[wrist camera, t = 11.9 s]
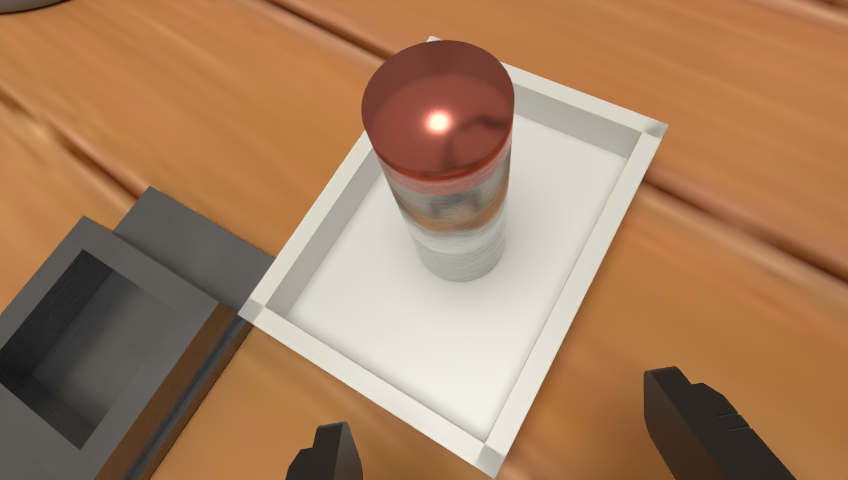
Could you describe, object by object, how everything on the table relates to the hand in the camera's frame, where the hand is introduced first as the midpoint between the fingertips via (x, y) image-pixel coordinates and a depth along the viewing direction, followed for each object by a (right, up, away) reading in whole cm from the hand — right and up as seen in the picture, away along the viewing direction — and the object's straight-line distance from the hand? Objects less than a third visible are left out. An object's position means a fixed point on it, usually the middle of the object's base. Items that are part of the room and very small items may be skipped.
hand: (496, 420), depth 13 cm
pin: (0, +5, +9) cm, 10 cm away
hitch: (-16, 0, +10) cm, 18 cm away
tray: (0, +5, +10) cm, 11 cm away
